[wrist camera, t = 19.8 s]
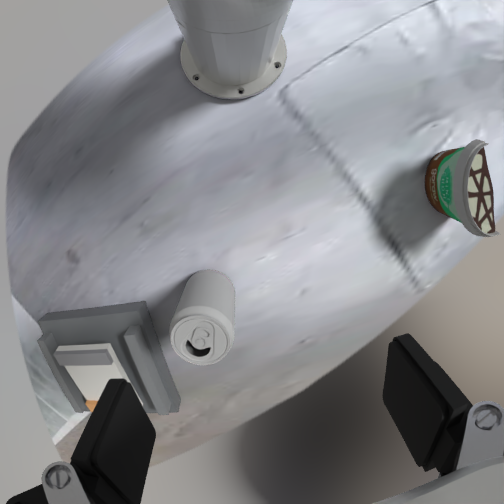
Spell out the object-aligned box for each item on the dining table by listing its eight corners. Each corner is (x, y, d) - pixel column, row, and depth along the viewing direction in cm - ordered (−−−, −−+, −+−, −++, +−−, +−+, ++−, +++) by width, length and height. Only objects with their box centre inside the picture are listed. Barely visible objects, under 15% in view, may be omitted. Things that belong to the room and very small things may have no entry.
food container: (408, 148, 34) (454, 147, 25) (440, 140, 34) (487, 139, 24) (426, 234, 38) (469, 253, 28) (456, 222, 37) (500, 237, 28)
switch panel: (47, 313, 39) (29, 329, 33) (145, 300, 38) (132, 320, 33) (89, 400, 43) (79, 420, 38) (180, 399, 43) (175, 423, 38)
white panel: (58, 345, 34) (53, 354, 32) (109, 343, 34) (105, 352, 32) (94, 403, 39) (91, 411, 37) (143, 403, 39) (140, 413, 37)
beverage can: (180, 303, 39) (159, 356, 27) (194, 259, 37) (176, 303, 26) (225, 318, 40) (221, 376, 28) (242, 277, 38) (244, 326, 27)
